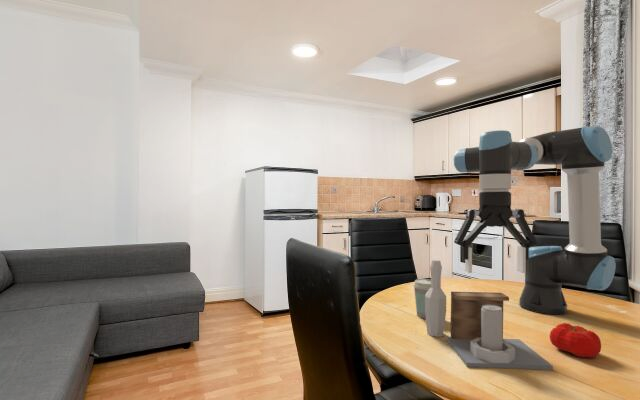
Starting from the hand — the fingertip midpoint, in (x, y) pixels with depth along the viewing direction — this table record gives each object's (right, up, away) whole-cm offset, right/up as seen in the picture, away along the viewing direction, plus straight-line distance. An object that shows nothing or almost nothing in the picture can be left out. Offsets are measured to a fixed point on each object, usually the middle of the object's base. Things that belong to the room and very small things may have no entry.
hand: (494, 271), depth 94 cm
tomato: (+22, -22, +1) cm, 31 cm away
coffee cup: (-10, -21, +29) cm, 37 cm away
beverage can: (-2, -21, -3) cm, 21 cm away
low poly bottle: (-11, -21, +13) cm, 28 cm away
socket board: (0, -21, 0) cm, 21 cm away
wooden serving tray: (-2, -21, +5) cm, 22 cm away
